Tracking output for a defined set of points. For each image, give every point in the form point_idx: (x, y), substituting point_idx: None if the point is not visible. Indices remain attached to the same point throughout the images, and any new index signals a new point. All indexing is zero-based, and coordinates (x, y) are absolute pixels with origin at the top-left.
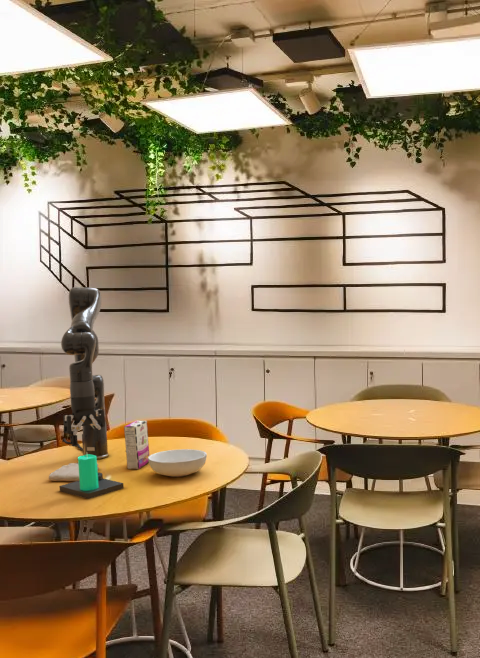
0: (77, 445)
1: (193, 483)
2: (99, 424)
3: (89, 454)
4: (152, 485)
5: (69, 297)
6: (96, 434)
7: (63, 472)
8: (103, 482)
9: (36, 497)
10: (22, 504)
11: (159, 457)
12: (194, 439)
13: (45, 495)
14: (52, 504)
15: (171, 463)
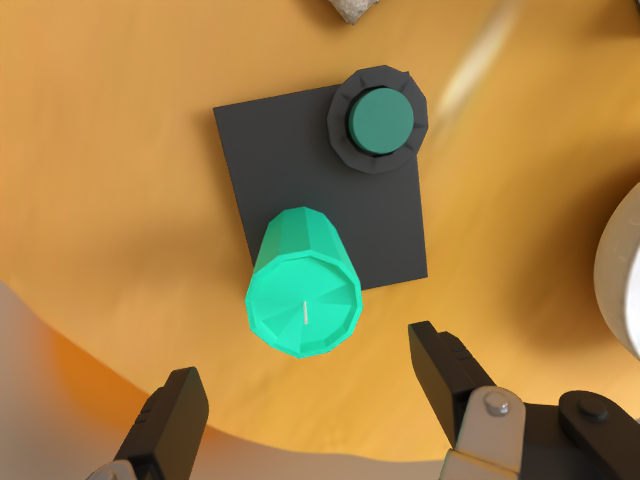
0: (206, 414)
1: (593, 374)
2: (557, 477)
3: (341, 268)
4: (505, 305)
5: None
6: (435, 400)
7: None
8: (381, 210)
9: (106, 119)
10: (33, 176)
11: None
12: None
13: (148, 120)
14: (139, 263)
15: (637, 357)
